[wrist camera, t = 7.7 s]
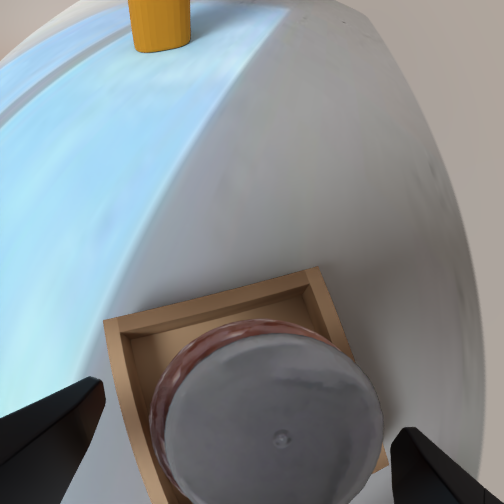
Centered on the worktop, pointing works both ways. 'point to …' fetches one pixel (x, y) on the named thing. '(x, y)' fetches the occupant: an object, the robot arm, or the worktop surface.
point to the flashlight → (159, 24)
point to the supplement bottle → (265, 418)
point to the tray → (191, 327)
